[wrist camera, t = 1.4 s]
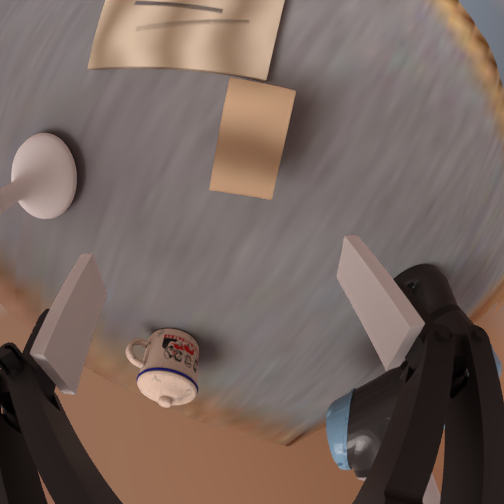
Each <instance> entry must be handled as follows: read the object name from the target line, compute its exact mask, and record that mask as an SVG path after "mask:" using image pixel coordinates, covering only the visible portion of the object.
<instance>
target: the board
mask: <svg viewBox="0 0 504 504" xmlns="http://www.w3.org/2000/svg"><path fill="white" fill-rule="evenodd" d="M284 1H285V0H106V1H105V4H104V7H103V10H102V13H101V16H100V19H99V23H98V26H97V30H96V34H95V38H94V42H93V46H92V50H91V55H90V59H89V64H88V69H91V70H100V69H124V68H150V69H174V70H188V71H199V72H208V73H216V74H224V75H230V76H237V77H243V78H249V79H254V80H259V81H264V82H265V81H266V80H267V75H268V71H269V66H270V62H271V57H272V53H273V48H274V44H275V40H276V35H277V31H278V27H279V22H280V18H281V14H282V10H283V5H284Z"/></svg>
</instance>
